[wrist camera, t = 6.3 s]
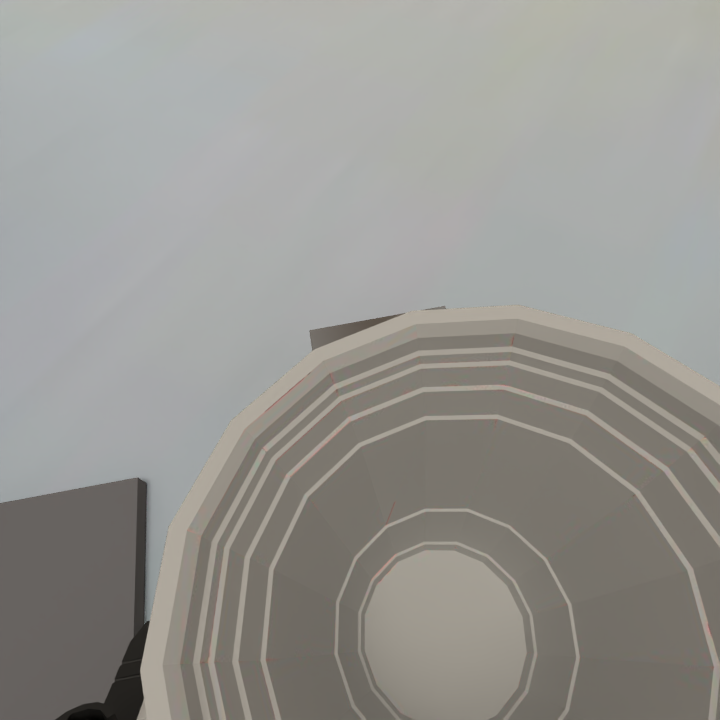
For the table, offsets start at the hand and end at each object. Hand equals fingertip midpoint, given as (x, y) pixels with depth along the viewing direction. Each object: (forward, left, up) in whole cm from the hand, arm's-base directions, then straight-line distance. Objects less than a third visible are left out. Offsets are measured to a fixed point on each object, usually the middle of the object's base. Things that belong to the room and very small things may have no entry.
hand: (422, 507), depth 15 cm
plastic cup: (0, -3, -5) cm, 6 cm away
